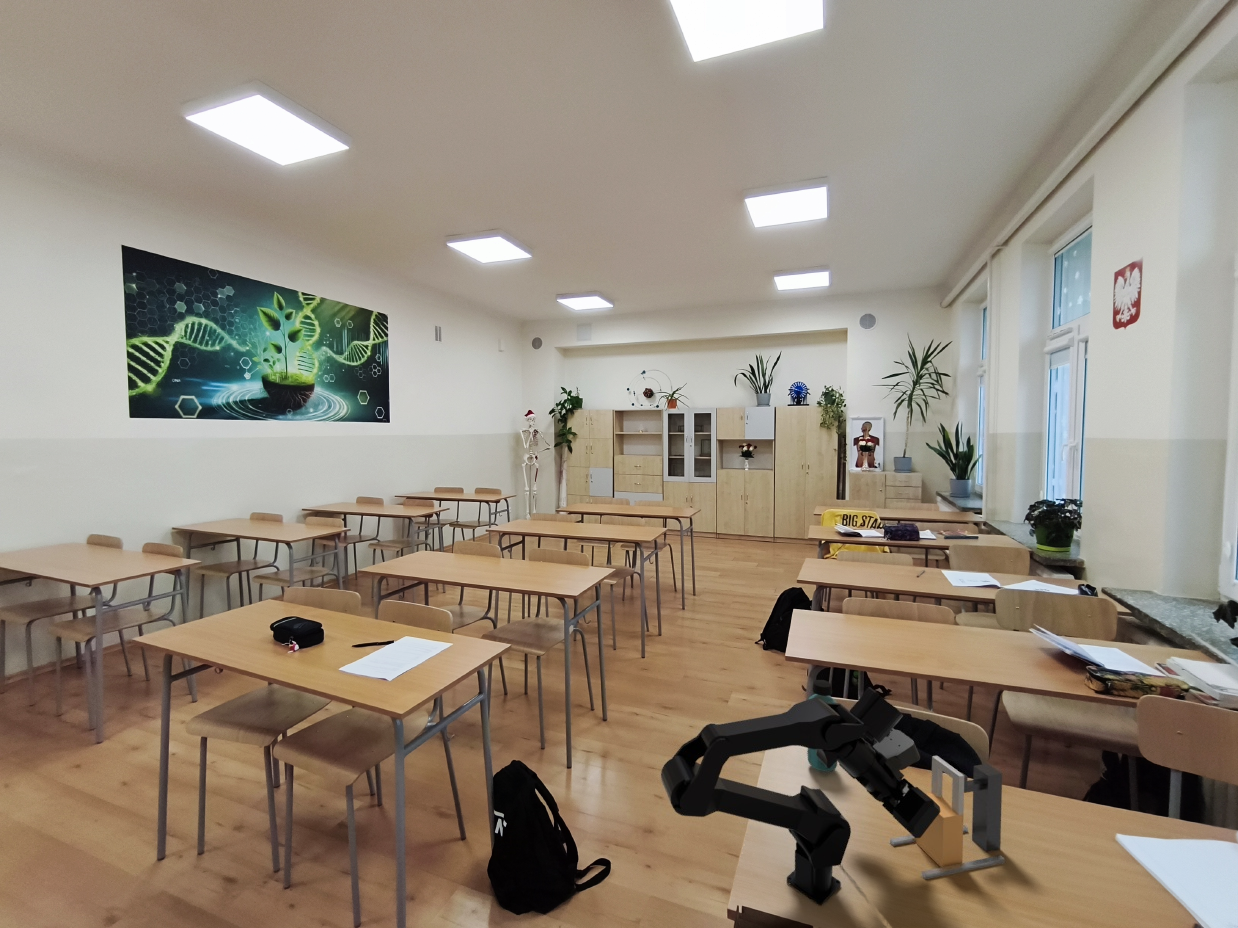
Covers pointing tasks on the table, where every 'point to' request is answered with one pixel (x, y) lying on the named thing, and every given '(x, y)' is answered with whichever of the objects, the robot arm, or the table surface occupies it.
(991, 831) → the grey stand with block
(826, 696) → the beverage bottle
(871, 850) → the table surface
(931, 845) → the orange padlock
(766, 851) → the table surface
